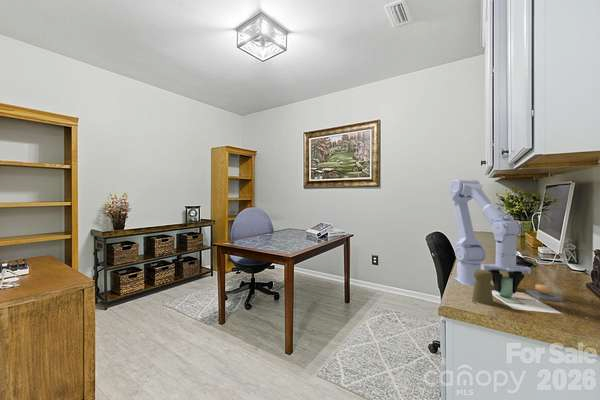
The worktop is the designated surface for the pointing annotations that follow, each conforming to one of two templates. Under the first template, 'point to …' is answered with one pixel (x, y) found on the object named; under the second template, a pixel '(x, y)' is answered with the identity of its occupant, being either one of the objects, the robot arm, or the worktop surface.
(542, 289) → the button
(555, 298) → the button pad
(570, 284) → the worktop surface
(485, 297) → the olive brown cylinder
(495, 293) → the picture card
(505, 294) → the green cylinder
